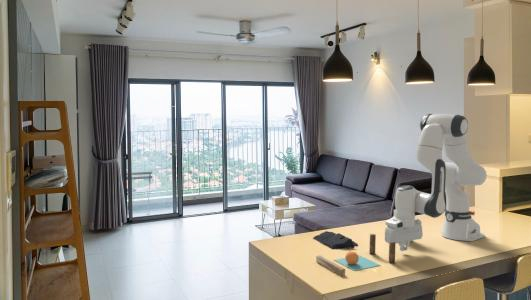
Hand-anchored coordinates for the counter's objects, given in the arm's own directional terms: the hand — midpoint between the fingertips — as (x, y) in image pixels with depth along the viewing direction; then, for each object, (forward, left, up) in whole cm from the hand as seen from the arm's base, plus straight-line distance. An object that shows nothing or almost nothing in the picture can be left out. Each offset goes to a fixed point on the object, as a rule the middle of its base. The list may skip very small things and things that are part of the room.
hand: (403, 250), depth 193 cm
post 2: (+13, +6, -2) cm, 15 cm away
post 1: (+13, -6, -2) cm, 15 cm away
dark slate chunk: (+18, -29, -2) cm, 34 cm away
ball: (+30, 0, +1) cm, 30 cm away
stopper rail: (+41, 0, -2) cm, 41 cm away
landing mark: (+27, 0, -2) cm, 27 cm away
